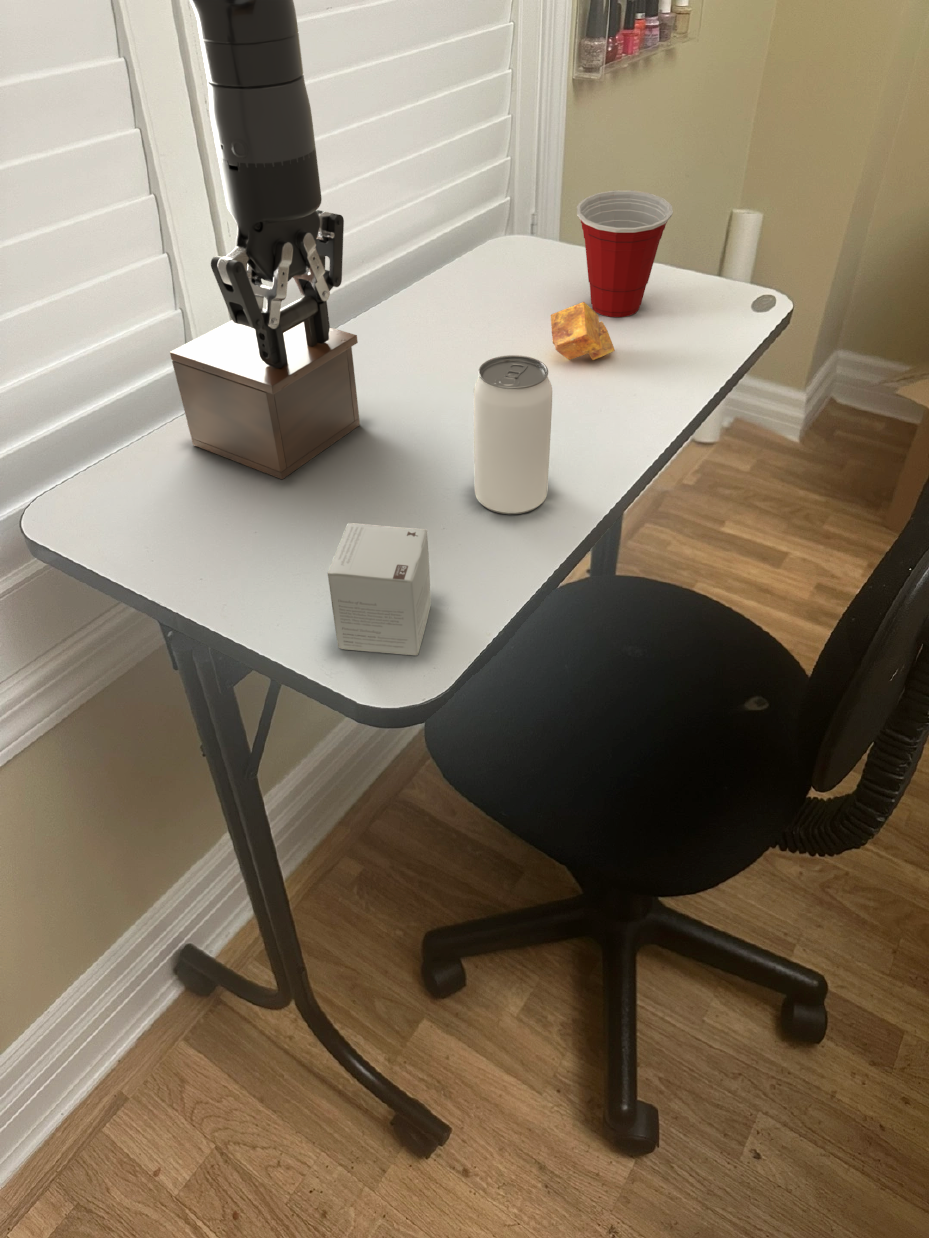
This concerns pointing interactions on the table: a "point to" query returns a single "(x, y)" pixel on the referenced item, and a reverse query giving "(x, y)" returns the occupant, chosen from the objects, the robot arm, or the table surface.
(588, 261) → the plastic cup
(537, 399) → the can
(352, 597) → the product carton
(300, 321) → the lid
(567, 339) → the pyrite
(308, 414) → the chest
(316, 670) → the table surface
